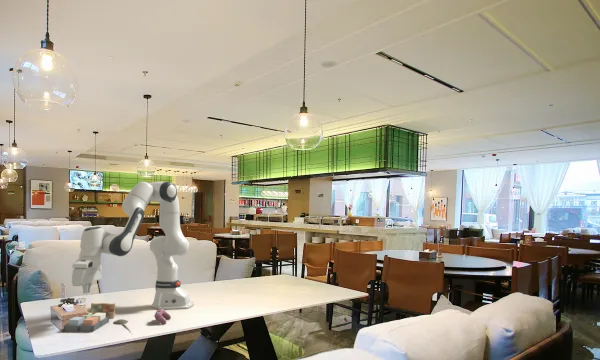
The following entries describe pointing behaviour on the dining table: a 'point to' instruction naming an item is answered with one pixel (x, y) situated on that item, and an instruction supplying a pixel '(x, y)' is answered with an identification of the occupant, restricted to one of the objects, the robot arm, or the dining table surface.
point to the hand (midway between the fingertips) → (86, 292)
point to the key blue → (76, 321)
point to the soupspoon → (122, 323)
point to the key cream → (99, 316)
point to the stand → (103, 309)
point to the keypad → (85, 326)
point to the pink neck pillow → (162, 316)
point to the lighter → (67, 301)
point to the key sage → (87, 315)
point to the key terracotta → (90, 321)
